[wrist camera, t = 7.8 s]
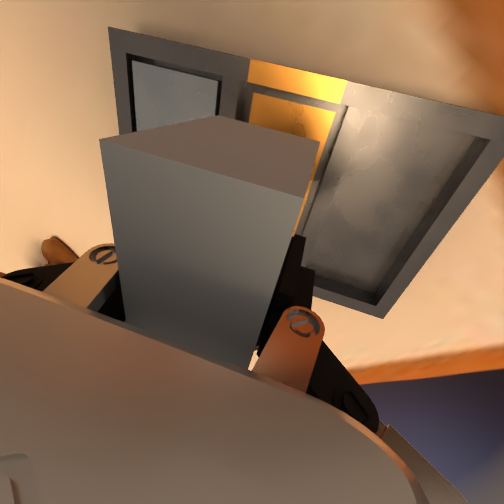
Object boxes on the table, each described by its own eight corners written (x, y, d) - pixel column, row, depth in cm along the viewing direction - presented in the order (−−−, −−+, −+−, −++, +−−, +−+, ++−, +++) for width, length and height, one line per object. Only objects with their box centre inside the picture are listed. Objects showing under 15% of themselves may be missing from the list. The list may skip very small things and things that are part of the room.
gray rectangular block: (218, 115, 10) (99, 139, 5) (320, 141, 9) (304, 198, 4) (199, 297, 15) (136, 394, 10) (262, 320, 15) (227, 431, 10)
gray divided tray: (136, 34, 16) (104, 25, 14) (500, 117, 14) (533, 123, 11) (147, 223, 24) (127, 237, 22) (378, 297, 22) (383, 321, 19)
